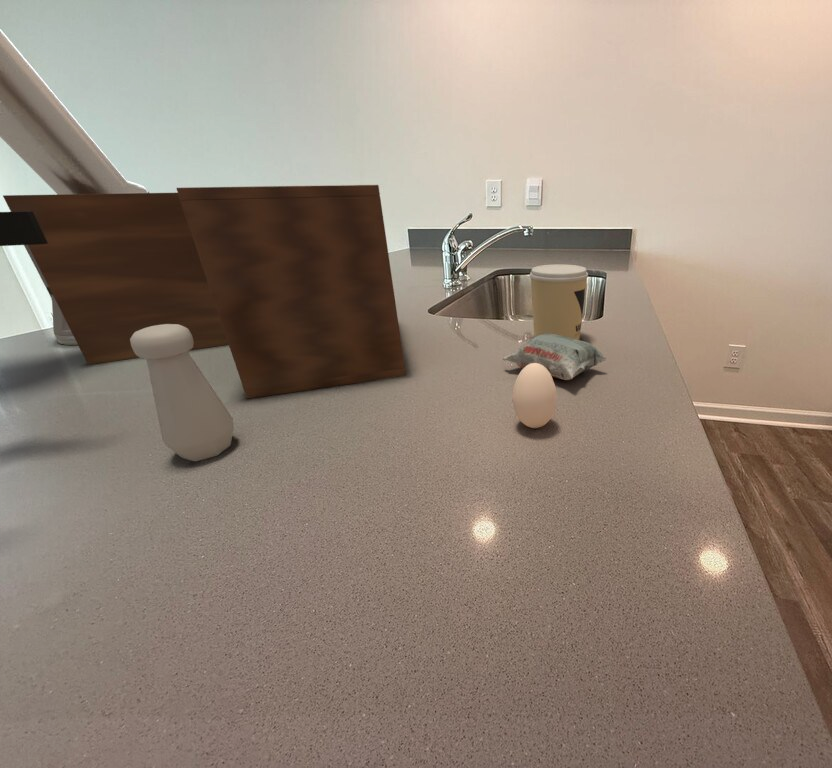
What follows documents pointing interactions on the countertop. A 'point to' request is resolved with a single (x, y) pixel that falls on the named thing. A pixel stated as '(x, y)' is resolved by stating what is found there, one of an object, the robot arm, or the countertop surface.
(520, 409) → the egg
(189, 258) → the cupboard door
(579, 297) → the coffee cup
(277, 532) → the countertop surface
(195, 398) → the salt shaker
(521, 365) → the packaged food
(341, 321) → the wooden board
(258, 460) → the countertop surface
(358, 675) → the countertop surface
